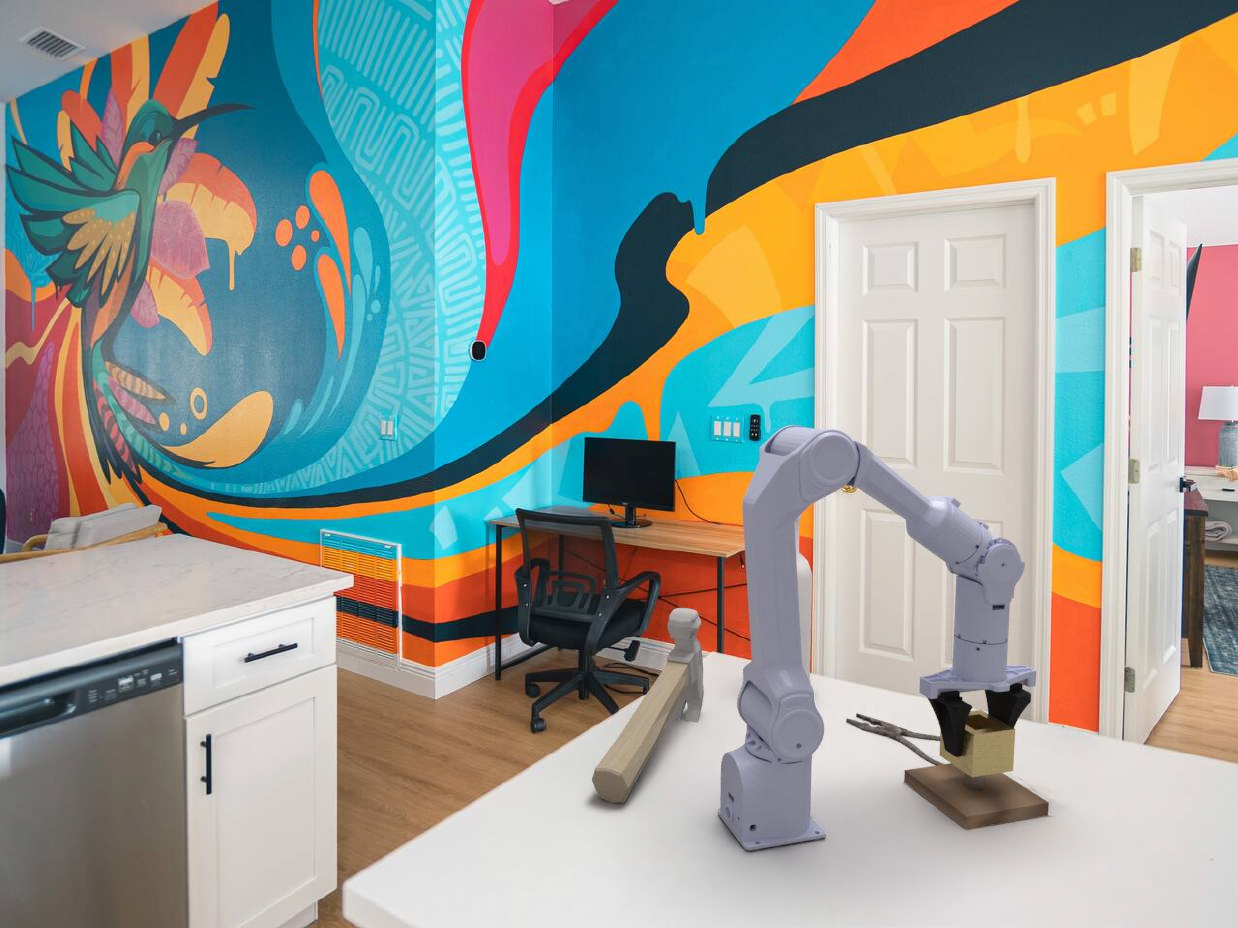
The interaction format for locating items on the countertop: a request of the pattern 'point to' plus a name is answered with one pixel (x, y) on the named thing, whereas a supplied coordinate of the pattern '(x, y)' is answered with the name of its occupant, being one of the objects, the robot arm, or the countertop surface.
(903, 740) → the pliers
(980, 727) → the collar
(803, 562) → the bottle
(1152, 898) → the countertop surface
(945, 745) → the robot arm
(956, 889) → the countertop surface
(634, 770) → the hammer
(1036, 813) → the post board
